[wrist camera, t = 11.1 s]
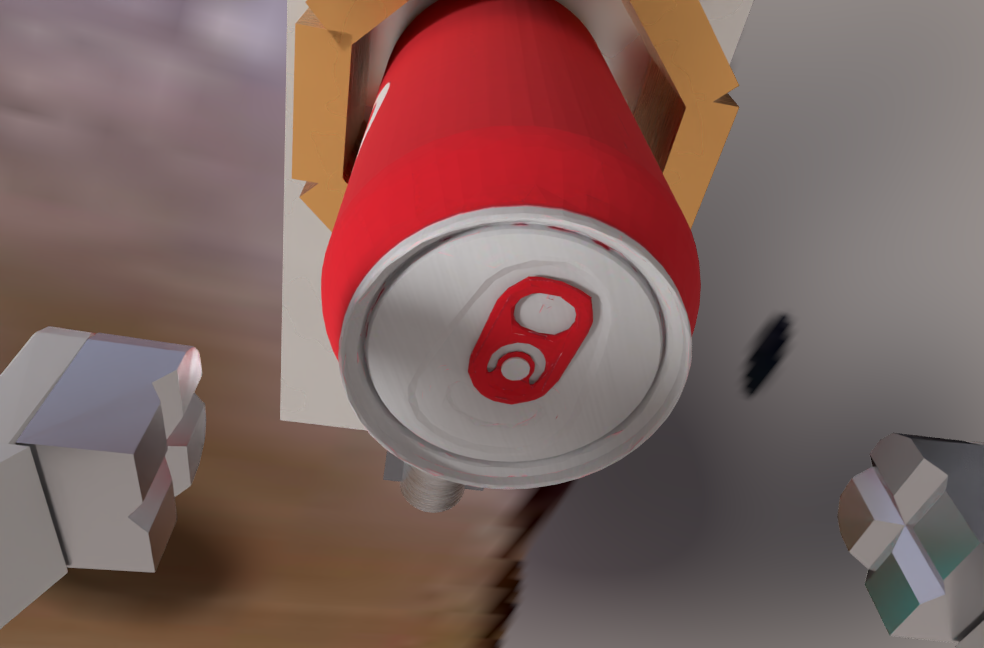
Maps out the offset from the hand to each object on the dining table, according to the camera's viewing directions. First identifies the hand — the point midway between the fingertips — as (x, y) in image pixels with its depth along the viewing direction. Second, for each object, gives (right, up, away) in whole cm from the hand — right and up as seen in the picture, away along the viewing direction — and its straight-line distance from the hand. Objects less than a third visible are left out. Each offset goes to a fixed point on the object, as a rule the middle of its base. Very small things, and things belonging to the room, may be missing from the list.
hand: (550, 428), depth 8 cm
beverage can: (-1, +8, +12) cm, 14 cm away
